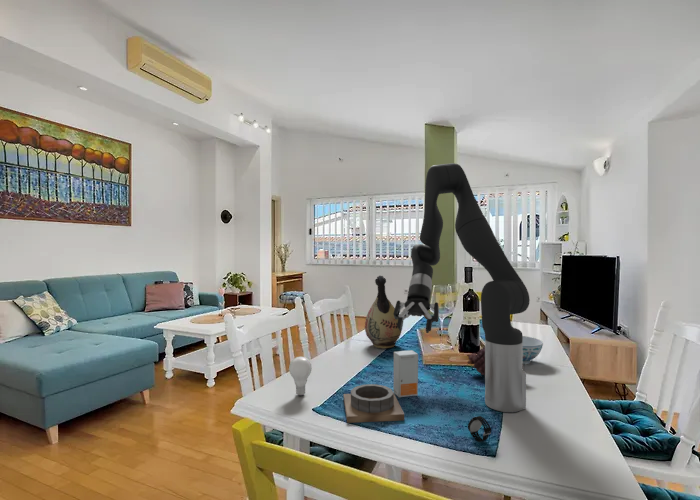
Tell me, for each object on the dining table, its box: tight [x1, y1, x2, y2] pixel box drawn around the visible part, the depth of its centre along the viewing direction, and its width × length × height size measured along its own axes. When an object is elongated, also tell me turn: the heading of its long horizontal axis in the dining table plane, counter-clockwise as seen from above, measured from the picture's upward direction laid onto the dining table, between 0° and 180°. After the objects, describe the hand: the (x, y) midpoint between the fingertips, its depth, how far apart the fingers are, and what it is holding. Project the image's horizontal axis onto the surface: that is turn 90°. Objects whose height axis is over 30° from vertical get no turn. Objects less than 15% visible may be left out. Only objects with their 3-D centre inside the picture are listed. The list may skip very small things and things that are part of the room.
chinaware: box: [523, 335, 544, 365], centre depth 140 cm, size 15×15×8 cm
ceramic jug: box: [364, 275, 402, 349], centre depth 161 cm, size 17×15×30 cm
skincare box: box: [392, 350, 419, 398], centre depth 110 cm, size 6×4×12 cm
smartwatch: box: [467, 415, 492, 443], centre depth 84 cm, size 4×5×5 cm
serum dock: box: [343, 383, 405, 424], centre depth 100 cm, size 14×14×4 cm
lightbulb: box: [288, 356, 313, 397], centre depth 109 cm, size 6×6×11 cm
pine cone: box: [466, 347, 485, 376], centre depth 123 cm, size 18×10×10 cm, turn 57°
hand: (413, 330), depth 121 cm, fingers open, 8 cm apart
